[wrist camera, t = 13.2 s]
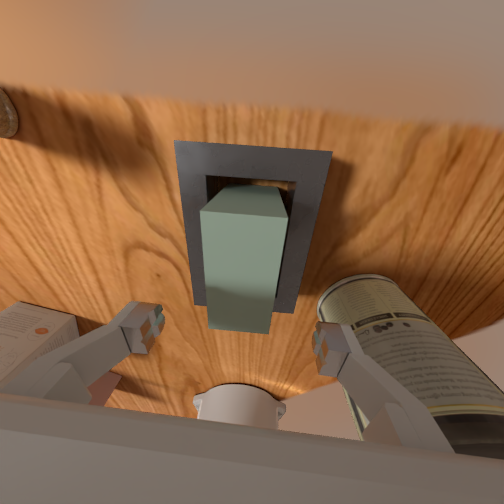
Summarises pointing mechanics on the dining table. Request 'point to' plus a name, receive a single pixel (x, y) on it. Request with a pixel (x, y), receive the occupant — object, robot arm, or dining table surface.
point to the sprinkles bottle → (7, 117)
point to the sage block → (242, 256)
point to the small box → (31, 336)
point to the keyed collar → (258, 167)
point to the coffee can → (419, 362)
